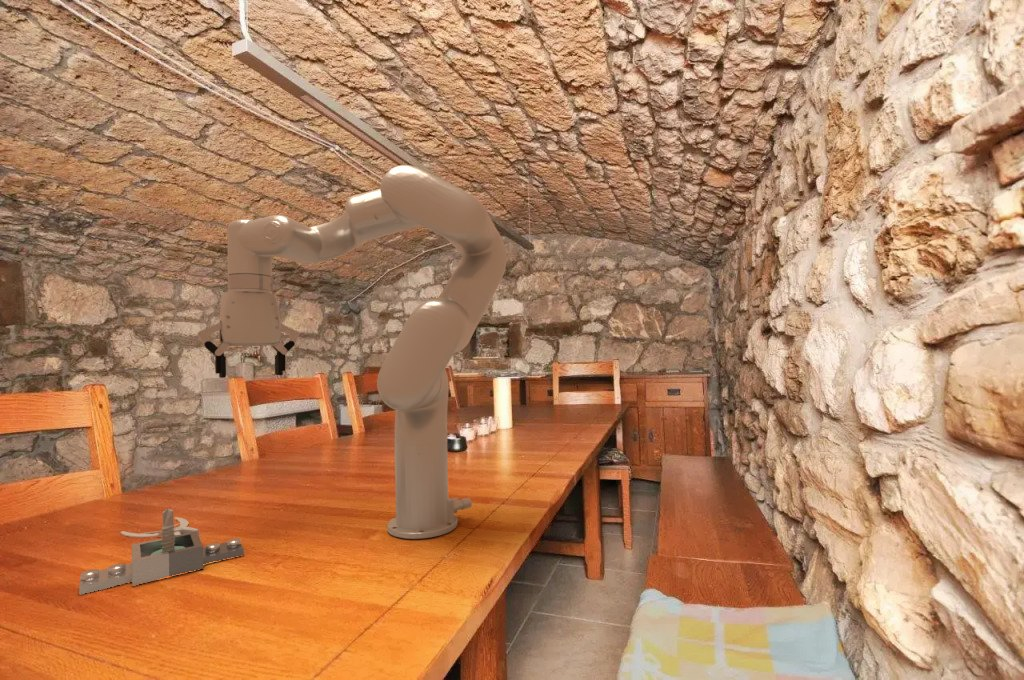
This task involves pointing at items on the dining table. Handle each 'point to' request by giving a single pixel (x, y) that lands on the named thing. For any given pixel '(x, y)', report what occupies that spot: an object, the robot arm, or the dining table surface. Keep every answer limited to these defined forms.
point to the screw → (168, 534)
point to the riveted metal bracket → (159, 562)
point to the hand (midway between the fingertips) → (251, 376)
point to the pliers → (178, 531)
